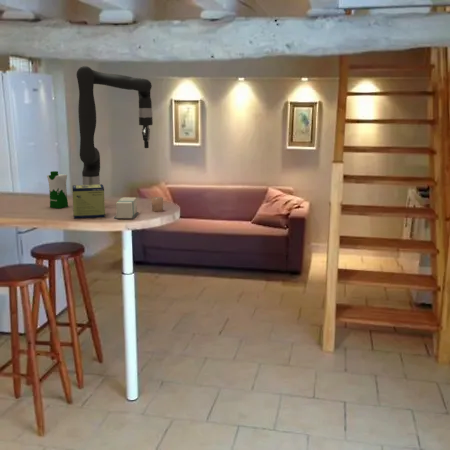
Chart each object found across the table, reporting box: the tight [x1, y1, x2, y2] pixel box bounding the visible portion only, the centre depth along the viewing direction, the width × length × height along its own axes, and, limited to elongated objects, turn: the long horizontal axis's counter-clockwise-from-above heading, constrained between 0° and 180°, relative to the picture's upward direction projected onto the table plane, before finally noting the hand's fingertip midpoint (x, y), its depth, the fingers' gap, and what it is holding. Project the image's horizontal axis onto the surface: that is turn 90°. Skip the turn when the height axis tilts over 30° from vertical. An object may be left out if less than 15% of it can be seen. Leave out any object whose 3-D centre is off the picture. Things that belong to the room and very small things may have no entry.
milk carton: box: [46, 170, 69, 209], centre depth 294 cm, size 9×9×20 cm
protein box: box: [72, 183, 106, 220], centre depth 270 cm, size 10×16×16 cm
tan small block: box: [151, 196, 164, 213], centre depth 286 cm, size 6×6×7 cm
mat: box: [113, 211, 139, 220], centre depth 273 cm, size 10×14×1 cm
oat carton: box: [115, 197, 138, 218], centre depth 272 cm, size 8×8×17 cm
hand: (146, 148), depth 298 cm, fingers closed
